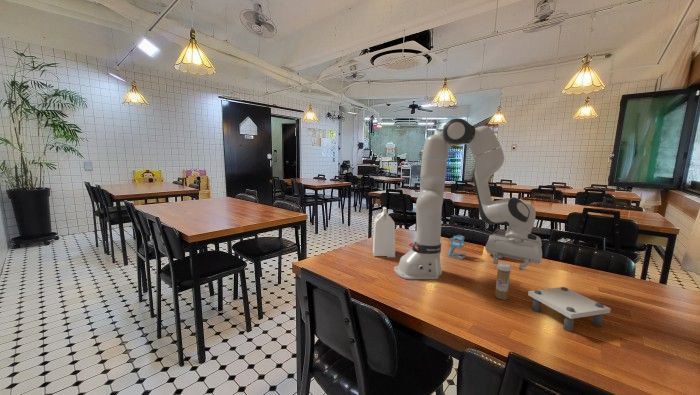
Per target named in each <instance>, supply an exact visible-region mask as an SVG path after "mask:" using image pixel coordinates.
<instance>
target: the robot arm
mask: <svg viewBox="0 0 700 395" xmlns="http://www.w3.org/2000/svg"><path fill="white" fill-rule="evenodd" d="M461 145H466V146H468V147H469V149H470V151H471V153H472V156H473V159H474V170H473V173H472V177H473V182H474V183H473V184H474V188H475V192H476V197H477V200H478V214H479V217H480V218H481V220H482V221H483V222H484V223H486V224H488V225H495V224H499V223H506V222H507V223H508V224H509V225H508V226H507V229H506V231H505V234H498V233H493V234H490V235H489V237H488V240H487V242H486V244H485V248H484V249H485V251H486V253H487V254H489V255H490V254H493V257H494V258H493V257H492V258H493V261H492V263H493V264H494V265H498V263H500V261H499V259H496V257H497V255H499V256H504V257H503V258H508V259H514V260H518V261H522V262H523V263H522V264H521V263H519V265H518V266H519V267H518V270H519V271H523V272H524V270H525V268H526V267H527V266H529V265H530V263H531V264H534V265H535V264H536V265H538V264H540V263H542V260H543V249H542V245H543V243H542V239H541V237H540V236H538V235H536V234H533V233H532V229H533V228H534V225H535V222H536V216H537V212H536V208H535V207H534V206H533V205H532V204H531V203H528V202H524V201H522V199H520V198H517V197H515V196H514V197H513V196H512V197H508V198H507V197H506V198H503V199H499V200H493V199H492V195H491V190H490V186H489V180H490V178H491V177H492V176H493V175H494V174H495V173H496V172H497V171H499V170H500V169H501V167H502V166H503V165H504V163H505V162H504V161H505V154H504V150H503V149H502V146H501V144H500V141H499V139H498V138H497V135H496V134H495V132H494V131H493V129H492V128H491V127H490V126H487V125H481V126H478V127H475V126H473V125H472V124H471V123H469V121H467V120H465V119H463V118H459V117H456V118H452V119H450V120H448V121H447V122H446V123H445V125H444V127H443V128H442V132H441V133H438V134H432V135H429V136H428V137H427V138H426V139H425V142H424V145H423V149H422V154H421V156H422V157H421V164H420V166H421V167H420V176H419V177H420V178H419V179H420V180H419V181H420V182H419V183H420V184H419V186H420V187H419V196H418V197H417V199H416V202H415V204H416V209H415V210H416V211H415V213H416V214H415V216H416V231H415V232H416V233H415V235H416V236H415V241H414V242H412V241H409V242H408V246H409V247H410V248H412V249H410V250H409V251H408V252H406V253H405V254H404V255H401V257H400V259H399V262H398V265H395V266H394V268H393V271H394V273H395V274H396V275H397V276H398V277H400V278H403V279H405V280H438V279H439V278H440V276H442V274H443V269H442V266H441V252H442V243H441V234H442V212H443V211H442V208H443V203H444V196H445V186H446V177H447V176H446V174H447V168H448V166H447V165H448V155H449V150H450V149H451V148H453V147H458V146H461Z"/></svg>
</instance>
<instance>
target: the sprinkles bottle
mask: <svg viewBox="0 0 700 395" xmlns="http://www.w3.org/2000/svg"><path fill="white" fill-rule="evenodd" d="M511 270H512V265H511V264H509V263H507V262H498V264H497V271H496V272H497V273H496V282H495V293H494V296H495V297H496V298H497V299H499V300H503V301H504V300H505V301H506V300H508V298H509V297H508V295H509V287H510V275H511Z"/></svg>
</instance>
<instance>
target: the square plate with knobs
mask: <svg viewBox="0 0 700 395" xmlns="http://www.w3.org/2000/svg"><path fill="white" fill-rule="evenodd" d="M527 295H528V297H531V298H532V305H531V310H532V311H533V312H535V311H536V313H537V312H538V313H539V312H541V303H542V304H544V305H545V306H546V307H548V308H550V309H552V310H554V311H556V312H557V313H560V314H562V316H564V318H563V319H564V320H563V327H562V328H563V330H565V331H567V332H573V330H574V324H575V319H579V318H585V317H590V316H592V321H591V324H592V326H593V325H594V326H596V327H598V328H600V327H602V326H603V319H604V315H605V314H610V313H611V310H612V309H611V307H608V306H606V305H604V304H602V303H601V302H597V301H595V300H593V299H592V298H589V297H586V296H584V295H583V294H580V293H578V292H576V291H574V290H571V289H570V288H568V287H565V286H560V287H551V288H544V289H543V288H542V289H536V290H528V292H527Z"/></svg>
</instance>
